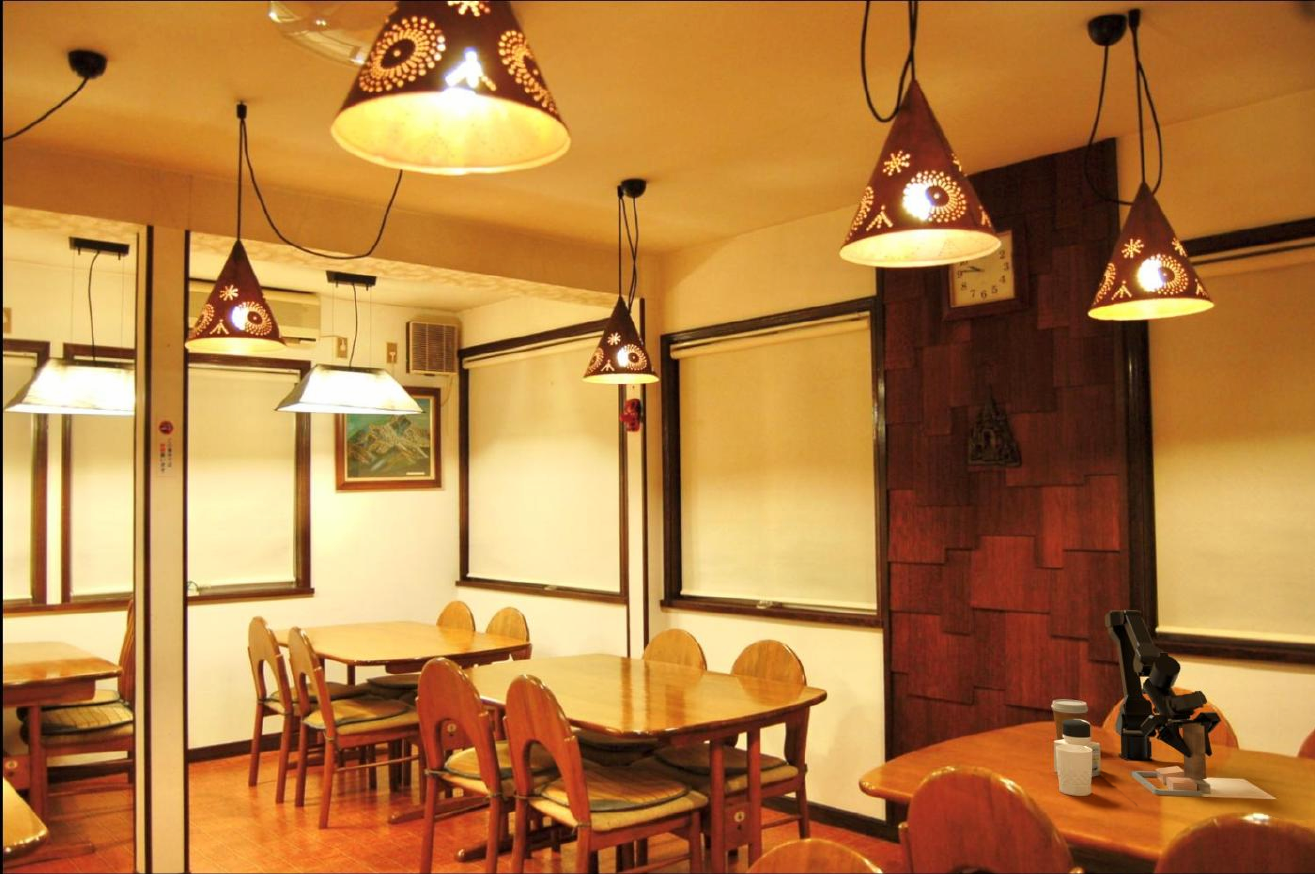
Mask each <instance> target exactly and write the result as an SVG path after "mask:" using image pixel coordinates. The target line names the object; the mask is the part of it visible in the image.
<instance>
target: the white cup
mask: <svg viewBox="0 0 1315 874" xmlns="http://www.w3.org/2000/svg"><path fill="white" fill-rule="evenodd" d="M1056 757H1057V772H1058V773H1057V772H1056V773H1057V779H1058V784H1059V785H1058V787H1059V792H1060V793H1062V794H1064V795H1068V796H1074V797H1087V796H1089V795H1091V792H1092V788H1091V786H1092V784H1091V783H1092V749H1091V748H1089V747H1085V746H1080V745H1070V744H1064V745H1058V746H1056Z"/></svg>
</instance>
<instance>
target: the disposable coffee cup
mask: <svg viewBox="0 0 1315 874" xmlns="http://www.w3.org/2000/svg"><path fill="white" fill-rule="evenodd" d="M1050 706H1051V708H1052V712H1053V718H1054V725H1055V733H1056V739H1057V740H1063V739H1064V738H1063V733H1062V722H1063V721H1065V720H1067V719H1080V720H1085V721H1087V712H1088V710H1089V707H1088V705H1087V702H1085V701H1082V700H1075V699H1055V700H1052V703H1051V705H1050Z"/></svg>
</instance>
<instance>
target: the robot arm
mask: <svg viewBox="0 0 1315 874" xmlns="http://www.w3.org/2000/svg"><path fill="white" fill-rule="evenodd" d="M1145 623H1146V622H1145V621H1144V613H1143V612H1142V611H1141V610H1136V609H1135V610H1134V609H1132V610H1131V609H1124V610H1115V609H1114V610H1112V609H1111V610H1109V612H1108V613H1106V614H1105V616H1104V624H1105V627H1106V628H1107V631H1108V632H1107V633H1108V636H1109V637H1110V639H1112V641H1113V642H1114V643H1115V644H1116V649H1117V655H1118V662H1119V664H1118V665H1119V670H1120V676H1121V685H1122V692H1123V700H1122V702H1121V704H1120V706H1118V707H1119V708H1118V710H1119V712H1118V713H1117V714H1118V715H1117V717H1116V720H1115V723H1114V727H1115V733H1116V734H1118V735H1119V736H1120V753H1118V754H1117V756H1118V757H1120V758H1122V759H1124V760H1126V761H1129V762H1154V761H1155V760H1154V758H1152V756H1153V754H1152V753H1153V751H1152V750H1153V749H1152V741H1151V738H1156V740H1158V741H1162V742H1163V743H1165V744H1167V745H1168V746H1169V747H1171V748H1173V749H1175V750H1176V751H1177V752H1178V753H1180V754H1182V755H1183V756H1184V755H1185V756H1186V757H1188V758H1190V757H1191V756H1192V755H1191V752H1190V750H1189V748H1188V747H1187V745H1186V743H1185V742H1184V740H1183V735H1181V733H1180V729H1182V724H1192V723H1195V724H1198V725H1202V726H1204V735H1205V755H1207V757H1211V756H1212V755H1213V750H1212V747H1211V741H1210V737H1209V734H1210V733H1212V731H1214V729H1215V728H1216V727H1217V726H1219V724H1220V723H1221V722H1222V719H1221V718H1220V716H1219V715H1218V713H1217V712H1215V711H1201V712H1199V713H1198V715H1196V716H1195V717H1194V718H1192V717H1191V716H1193V715H1194V714H1195V713H1196V712H1195V710H1197V709H1201V708H1202V709H1203V708H1204V707H1205V706H1204V705H1206V704H1207V703H1208V700H1207V696H1206V695H1205V694H1204V693H1203V691H1202V690H1194V691H1193V692H1191V693H1184V694H1176V693H1175V690H1174V689H1173V687H1174V686H1175V685H1176V681H1177V680H1178V676H1179V674H1180V672H1181V669H1182V668H1181V664H1180V662H1178V661H1177V660H1176V659H1175V658H1174V657H1172V656H1170V655H1169V653H1168V652H1167V651H1166V652H1164V651H1163V650H1162V649H1161V648H1159V647H1157V646H1156V645H1155V644H1154V642H1153V640H1152V638H1151V635H1150V632H1149V631H1148V628H1147V625H1146V624H1145ZM1142 678H1146V679H1145V680H1144V682H1142V680H1141V679H1142ZM1144 695H1147V696H1148V698H1149V699H1147V698H1146V697H1145V696H1144ZM1152 706H1154V707H1152ZM1157 734H1158V735H1157Z"/></svg>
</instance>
